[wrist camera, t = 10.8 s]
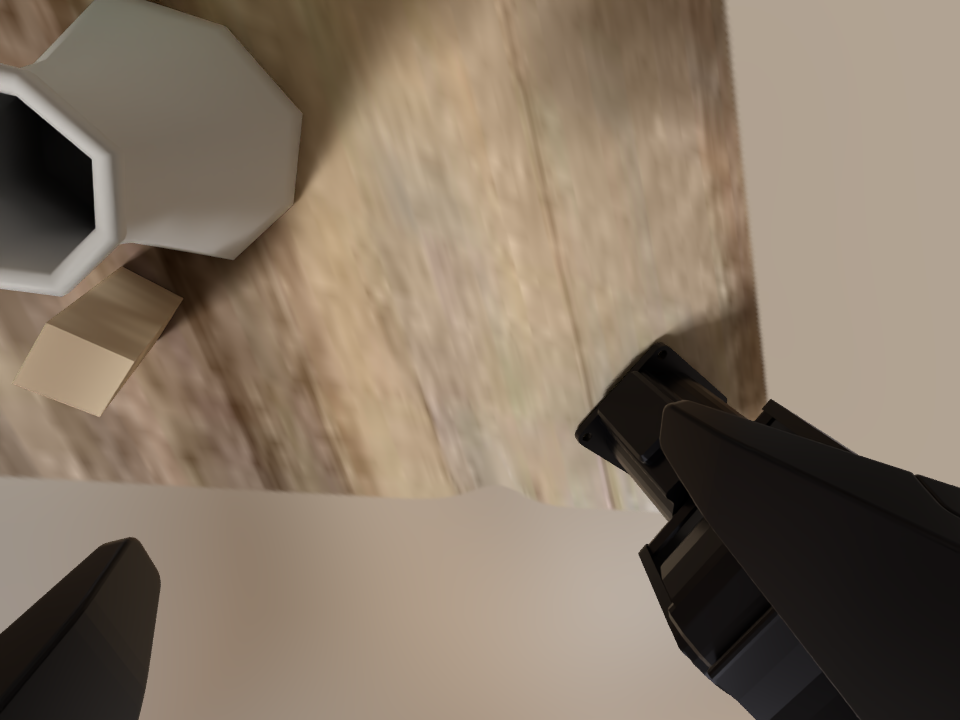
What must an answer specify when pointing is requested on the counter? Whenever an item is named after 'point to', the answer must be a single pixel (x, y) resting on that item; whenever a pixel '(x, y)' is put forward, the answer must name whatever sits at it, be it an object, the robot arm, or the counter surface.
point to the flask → (138, 145)
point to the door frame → (98, 342)
